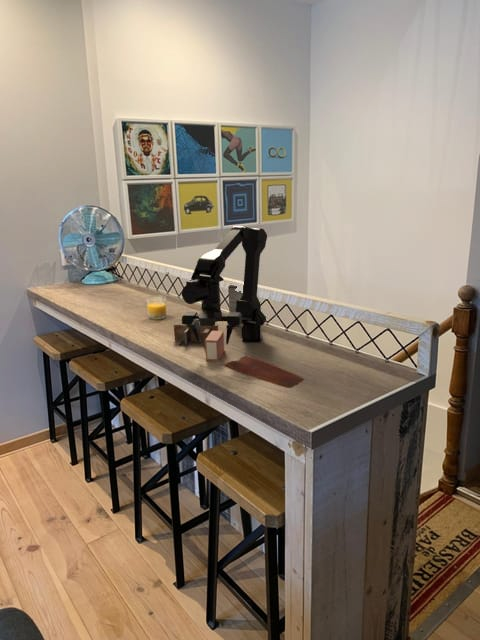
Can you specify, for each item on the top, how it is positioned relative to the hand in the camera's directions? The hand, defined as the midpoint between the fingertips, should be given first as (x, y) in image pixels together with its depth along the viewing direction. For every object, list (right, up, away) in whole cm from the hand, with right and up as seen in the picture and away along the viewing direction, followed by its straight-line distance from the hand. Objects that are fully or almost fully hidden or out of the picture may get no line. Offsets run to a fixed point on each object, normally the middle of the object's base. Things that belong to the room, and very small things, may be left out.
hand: (213, 343), depth 159 cm
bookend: (-11, -1, +16) cm, 20 cm away
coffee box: (+9, +6, +38) cm, 40 cm away
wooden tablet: (+16, -9, -11) cm, 21 cm away
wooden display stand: (-7, 0, +16) cm, 18 cm away
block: (+1, -4, +4) cm, 5 cm away
